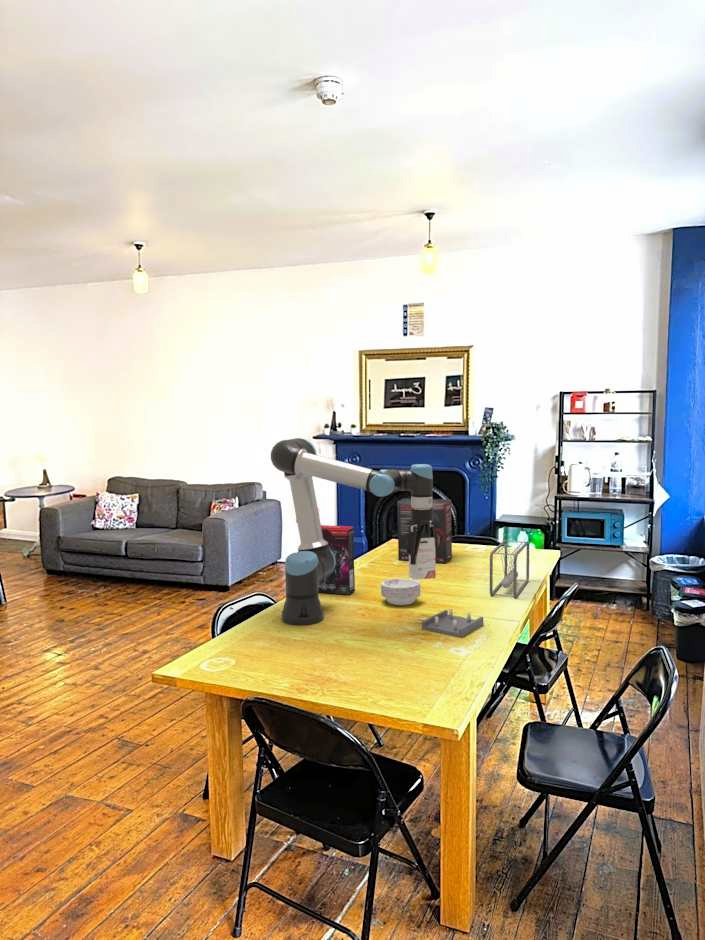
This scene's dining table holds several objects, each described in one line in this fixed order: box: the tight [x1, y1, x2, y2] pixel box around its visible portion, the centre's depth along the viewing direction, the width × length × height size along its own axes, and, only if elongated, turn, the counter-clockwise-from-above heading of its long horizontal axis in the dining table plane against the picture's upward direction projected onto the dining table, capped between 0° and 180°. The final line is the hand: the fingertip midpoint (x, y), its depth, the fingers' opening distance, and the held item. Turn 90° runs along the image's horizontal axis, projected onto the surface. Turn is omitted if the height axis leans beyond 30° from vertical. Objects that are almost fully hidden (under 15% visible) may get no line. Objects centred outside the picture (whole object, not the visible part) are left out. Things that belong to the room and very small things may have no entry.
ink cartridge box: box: [408, 537, 437, 581], centre depth 247 cm, size 9×5×15 cm, turn 105°
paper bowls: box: [380, 578, 421, 606], centre depth 268 cm, size 15×15×8 cm
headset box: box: [396, 494, 453, 564], centre depth 339 cm, size 25×12×33 cm, turn 68°
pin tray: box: [421, 608, 484, 639], centre depth 238 cm, size 16×15×4 cm
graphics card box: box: [318, 524, 356, 596], centre depth 284 cm, size 17×7×27 cm, turn 71°
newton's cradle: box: [489, 539, 530, 599], centre depth 285 cm, size 30×10×18 cm, turn 156°
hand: (421, 570), depth 247 cm, fingers closed on ink cartridge box, 9 cm apart
